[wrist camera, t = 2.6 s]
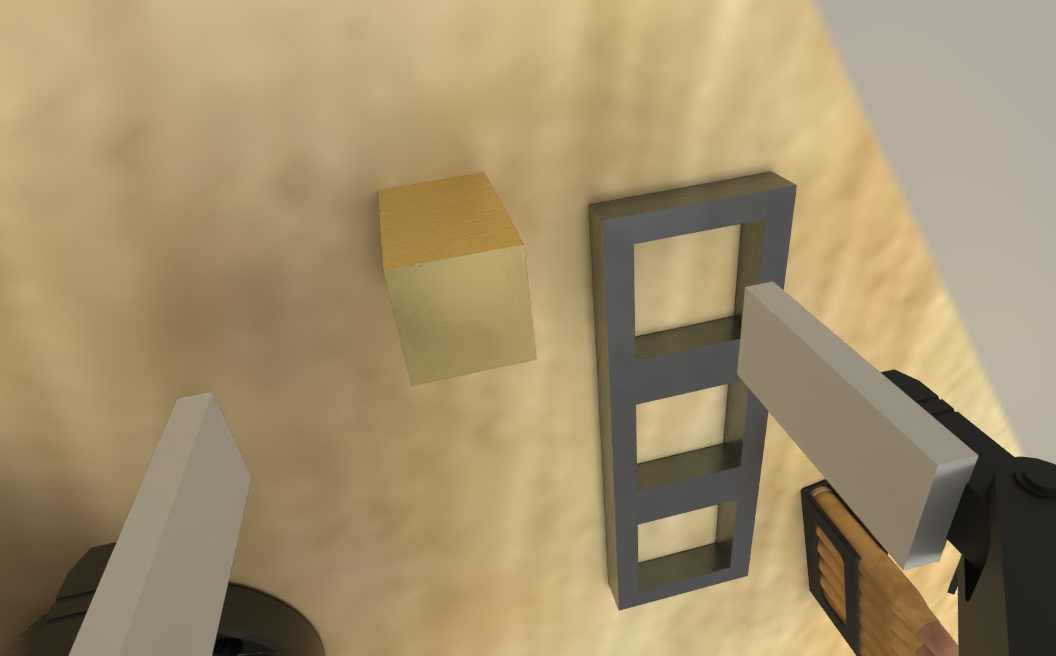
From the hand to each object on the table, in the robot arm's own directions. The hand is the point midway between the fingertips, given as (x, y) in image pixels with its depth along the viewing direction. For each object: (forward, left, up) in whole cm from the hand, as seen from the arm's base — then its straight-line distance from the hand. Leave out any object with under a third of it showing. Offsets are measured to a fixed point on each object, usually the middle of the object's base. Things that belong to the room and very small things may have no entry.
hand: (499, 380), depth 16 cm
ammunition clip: (+20, -25, -11) cm, 34 cm away
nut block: (0, 0, -11) cm, 11 cm away
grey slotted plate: (+10, -12, -11) cm, 19 cm away
